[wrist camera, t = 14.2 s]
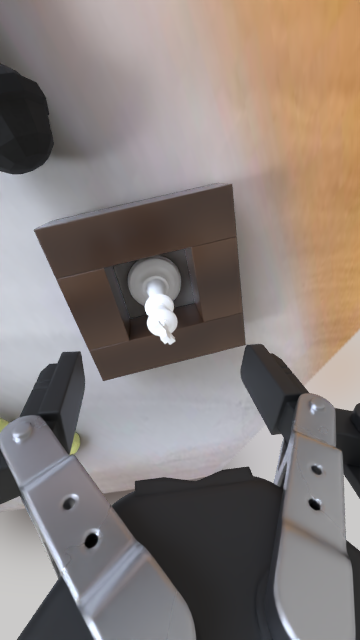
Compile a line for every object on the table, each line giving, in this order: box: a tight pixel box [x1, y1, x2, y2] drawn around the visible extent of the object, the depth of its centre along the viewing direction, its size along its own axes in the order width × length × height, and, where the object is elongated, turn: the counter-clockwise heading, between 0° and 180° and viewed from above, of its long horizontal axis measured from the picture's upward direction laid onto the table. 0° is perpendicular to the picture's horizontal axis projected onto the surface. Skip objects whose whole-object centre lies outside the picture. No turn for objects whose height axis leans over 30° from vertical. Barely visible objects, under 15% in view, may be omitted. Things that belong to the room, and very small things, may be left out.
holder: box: [34, 184, 245, 381], centre depth 22 cm, size 14×14×4 cm
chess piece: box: [128, 255, 181, 345], centre depth 20 cm, size 5×5×10 cm
